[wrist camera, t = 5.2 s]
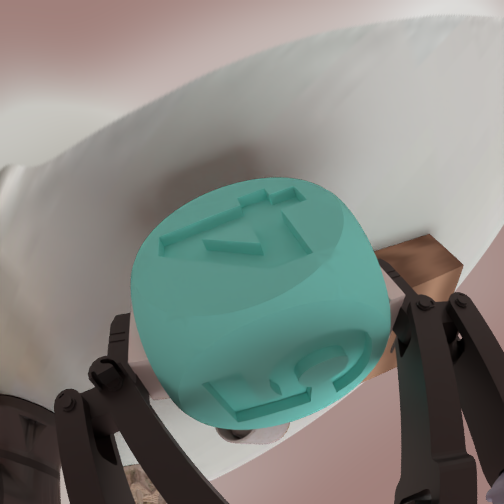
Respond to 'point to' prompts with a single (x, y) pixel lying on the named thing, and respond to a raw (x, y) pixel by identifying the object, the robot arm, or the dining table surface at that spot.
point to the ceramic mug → (254, 434)
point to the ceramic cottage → (142, 486)
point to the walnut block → (419, 279)
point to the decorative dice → (260, 303)
